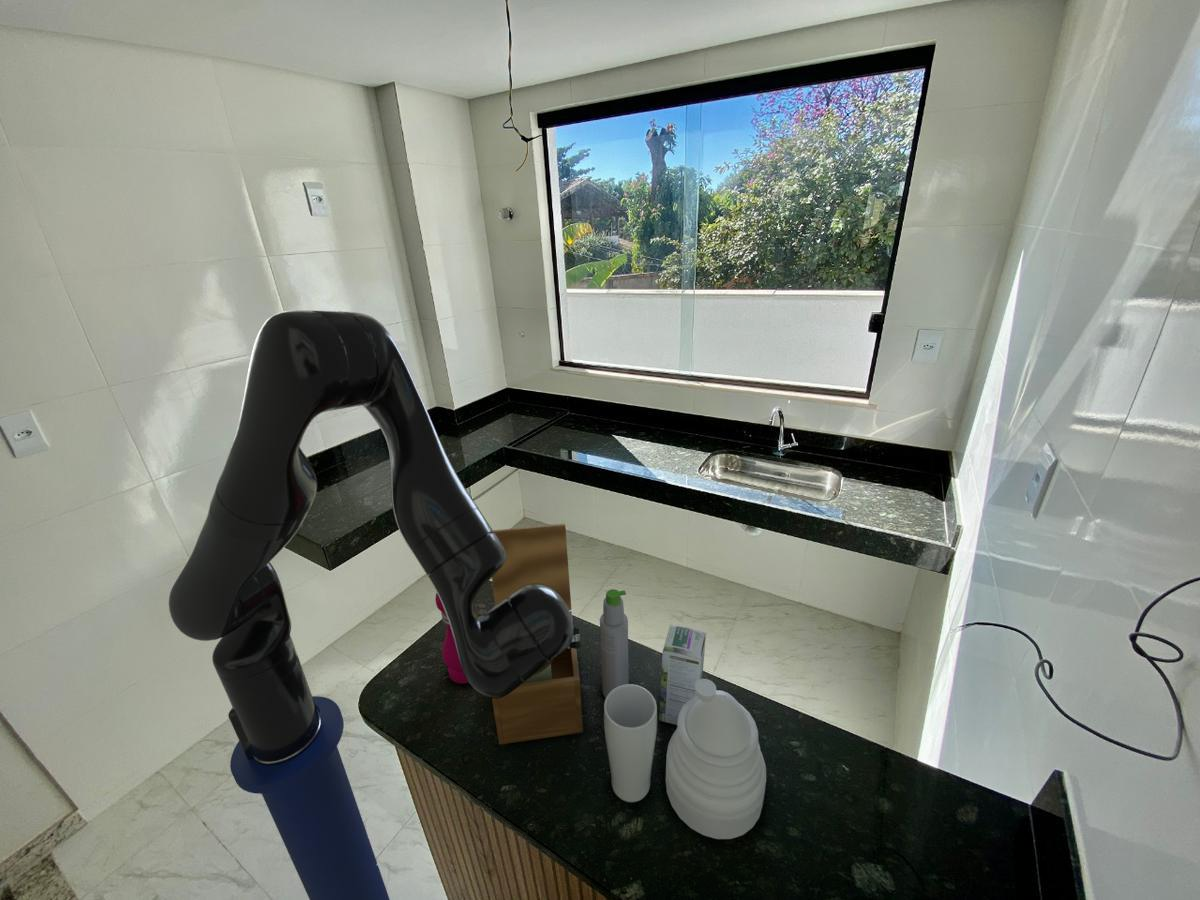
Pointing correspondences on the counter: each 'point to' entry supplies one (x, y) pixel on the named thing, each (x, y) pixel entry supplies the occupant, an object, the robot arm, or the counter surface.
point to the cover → (533, 561)
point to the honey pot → (715, 765)
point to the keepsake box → (542, 705)
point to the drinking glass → (630, 739)
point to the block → (541, 675)
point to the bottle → (614, 642)
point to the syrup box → (680, 670)
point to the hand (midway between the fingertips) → (534, 645)
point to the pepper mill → (450, 650)
